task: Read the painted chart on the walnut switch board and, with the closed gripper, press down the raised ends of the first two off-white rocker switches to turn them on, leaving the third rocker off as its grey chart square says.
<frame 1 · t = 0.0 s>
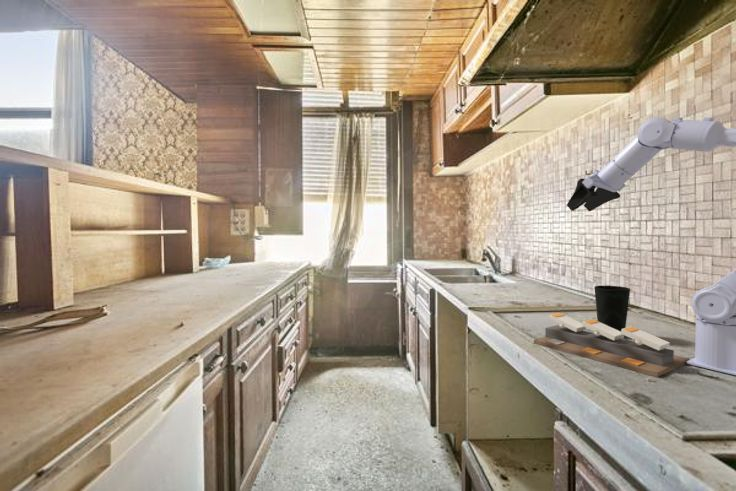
hand: (578, 208, 95), 32 cm above the worktop, tool tilted 50°, fingers open, 7 cm apart
switch 2: (602, 330, 83), point 5 cm above the worktop, hinge at -15.0°
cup: (611, 335, 96), on the worktop
switch 1: (644, 339, 76), point 5 cm above the worktop, hinge at -15.0°
switch 3: (567, 323, 90), point 5 cm above the worktop, hinge at -15.0°
switch board: (604, 351, 82), on the worktop
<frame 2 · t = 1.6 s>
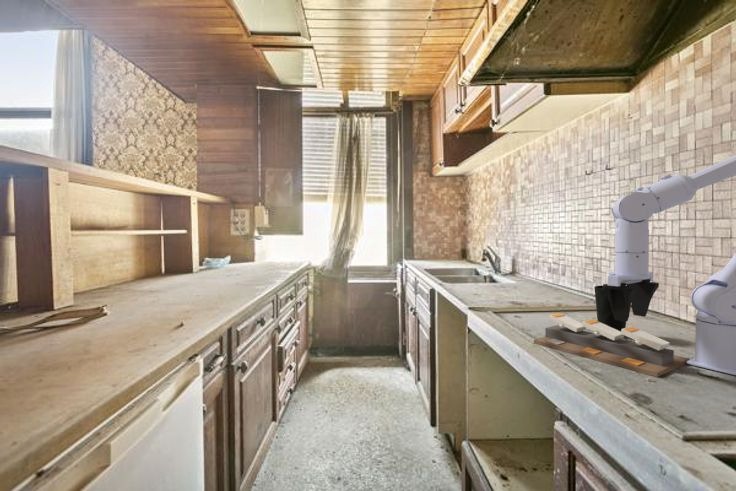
hand: (630, 318, 78), 8 cm above the worktop, tool pointing down, fingers open, 7 cm apart
nothing on the worktop moved.
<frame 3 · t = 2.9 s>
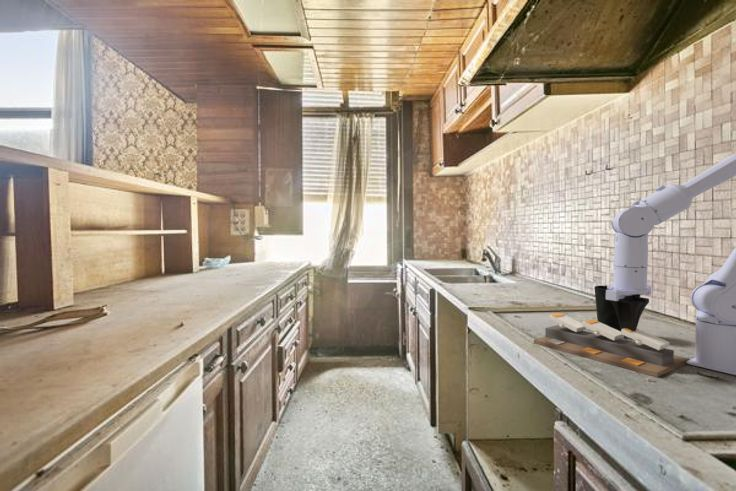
hand: (627, 331, 78), 6 cm above the worktop, tool pointing down, fingers closed, pressing on switch 1
switch 1: (644, 339, 76), point 5 cm above the worktop, hinge at -13.8°, touching gripper
everything else where it was.
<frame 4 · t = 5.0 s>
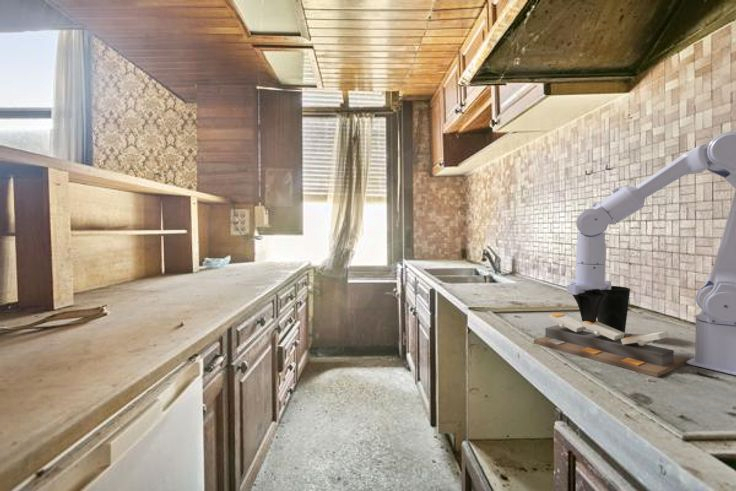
hand: (588, 323, 85), 6 cm above the worktop, tool pointing down, fingers closed, pressing on switch 2
switch 2: (602, 330, 83), point 5 cm above the worktop, hinge at -13.5°, touching gripper
switch 1: (644, 339, 76), point 5 cm above the worktop, hinge at 22.1°
everything else where it was.
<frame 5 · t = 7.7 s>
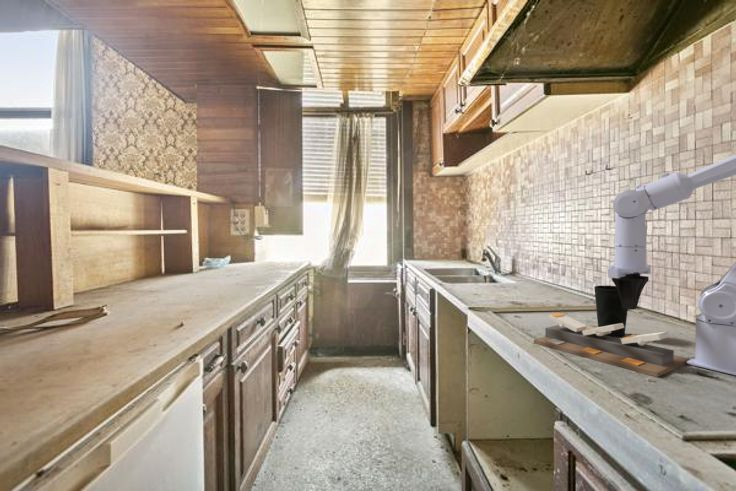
hand: (629, 308, 82), 9 cm above the worktop, tool pointing down, fingers closed
switch 2: (603, 330, 83), point 5 cm above the worktop, hinge at 22.0°
switch 1: (644, 339, 76), point 5 cm above the worktop, hinge at 20.4°
everything else where it was.
at the end: switch 1 at +20° (first picture: -15°); switch 2 at +23° (first picture: -15°); switch 3 at -15° (first picture: -15°) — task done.
